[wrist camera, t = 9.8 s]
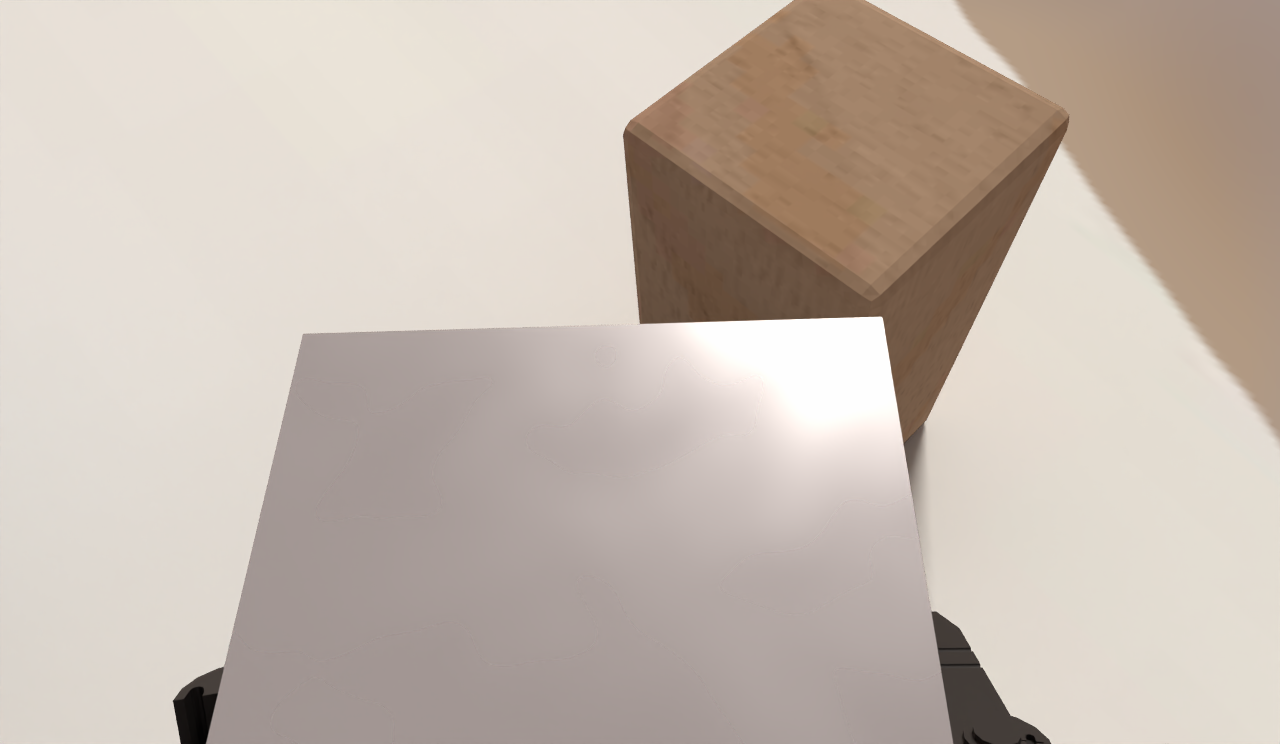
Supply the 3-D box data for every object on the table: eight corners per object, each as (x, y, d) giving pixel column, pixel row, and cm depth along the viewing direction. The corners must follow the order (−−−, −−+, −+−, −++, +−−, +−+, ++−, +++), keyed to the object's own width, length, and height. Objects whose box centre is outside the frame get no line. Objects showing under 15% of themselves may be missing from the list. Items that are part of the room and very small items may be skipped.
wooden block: (797, 556, 41) (874, 306, 24) (644, 421, 45) (615, 123, 28) (930, 417, 44) (1081, 109, 27) (776, 303, 48) (823, -30, 31)
